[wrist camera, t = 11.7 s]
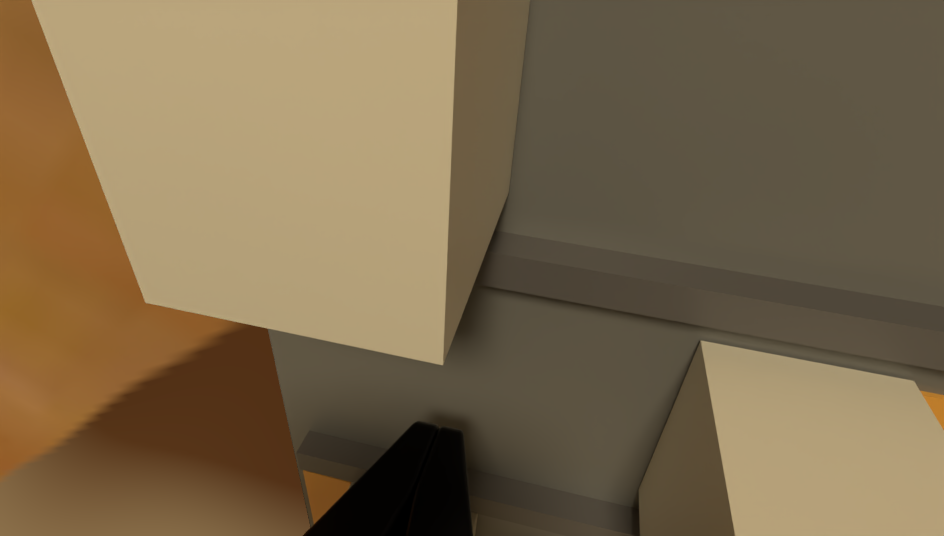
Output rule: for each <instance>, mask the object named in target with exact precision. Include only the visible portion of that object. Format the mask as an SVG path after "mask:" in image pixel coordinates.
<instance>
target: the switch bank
mask: <svg viewBox="0 0 944 536" xmlns="http://www.w3.org/2000/svg"><path fill="white" fill-rule="evenodd" d="M268 332H269V336H270V340H271V346H272V350H273V355H274V360H275V364H276V369H277V373H278V378H279V383H280V387H281V392H282V396H283V401H284V406H285V411H286V415H287V420H288V425H289V429H290V434H291V439H292V443H293V448H294V452H295V457H296V462H297V467H298V471H299V476H300V481H301V485H302V490H303V494H304V499H305V504H306V508H307V513H308V518H309V523H310V527H312V526H313V525H314V524H315V523H316V522H317V521H318V520H319V519H320V518H321V517H322V516H323V515H324V514H325V513H326V512H327V511H328V510H329V509H330V507H331V506H332V505H333V504H334V503H335V502H336V501H337V500H338V499H339V498H340V497H341V496H342V495H343V494H344V493H345V492H346V491H347V490H348V489H349V487H350V485H351V482H353V483H355V482H356V481H357V480H358V479H359V478H360V477H361V476H362V475H363V474H364V473H365V472H366V471H367V470H368V469H369V468H370V467H371V466H372V465H373V464H374V463H375V462H376V461H377V460H378V459H379V458H380V457H381V456H382V455H383V453H384V452H385V451H386V450H387V449H388V448H389V447H390V446H391V445H392V444H393V443H394V442H395V441H396V440H397V439H398V438H399V437H400V436H401V435H402V434H403V433H404V432H405V431H406V430H407V429H408V428H409V427H410V426H411V425H412V424H413V423H414V422H416V421H423V422H428V423H433V424H436V425H438V426H439V428H440V427H442V426H447V427H451V428H456V429H460V430H462V431H463V433H464V442H465V452H466V463H467V474H468V485H469V496H470V507H471V512H473V513H477V514H478V515H477V523H476V532H475V536H640V522H639V487H640V485H641V483H642V480H643V478H644V475H645V473H646V471H647V468H648V466H649V463H650V461H651V459H652V456H653V454H654V451H655V449H656V447H657V444H658V442H659V439H660V437H661V434H662V432H663V430H664V427H665V425H666V422H667V420H668V418H669V415H670V413H671V410H672V408H673V406H674V403H675V401H676V398H677V396H678V394H679V391H680V389H681V386H682V384H683V382H684V379H685V377H686V374H687V372H688V370H689V367H690V365H691V362H692V360H693V358H694V355H695V353H696V350H697V348H698V346H699V343H700V341H706V342H712V343H717V344H722V345H727V346H733V347H738V348H743V349H748V350H754V351H759V352H764V353H770V354H775V355H780V356H785V357H791V358H796V359H801V360H806V361H812V362H817V363H822V364H828V365H833V366H838V367H843V368H849V369H854V370H859V371H864V372H870V373H875V374H880V375H885V376H891V377H896V378H901V379H907V380H912V381H914V382H915V383H916V385H917V387H918V388H919V390H920V392H921V393H922V395H923V397H924V398H925V400H926V402H927V403H928V405H929V407H930V408H931V410H932V412H933V413H934V415H935V417H936V418H937V420H938V422H939V423H940V425H941V427H942V428H943V430H944V0H530V6H529V15H528V24H527V33H526V42H525V51H524V60H523V69H522V78H521V87H520V96H519V105H518V114H517V123H516V132H515V141H514V150H513V159H512V168H511V177H510V186H509V193H508V195H507V198H506V201H505V203H504V206H503V209H502V211H501V214H500V217H499V219H498V222H497V224H496V227H495V230H494V232H493V235H492V238H491V240H490V243H489V245H488V248H487V251H486V253H485V256H484V259H483V261H482V264H481V267H480V269H479V272H478V274H477V277H476V280H475V282H474V285H473V288H472V290H471V293H470V296H469V298H468V301H467V303H466V306H465V309H464V311H463V314H462V317H461V319H460V322H459V324H458V327H457V330H456V332H455V335H454V338H453V340H452V343H451V346H450V348H449V351H448V353H447V356H446V359H445V361H444V364H443V365H439V364H434V363H429V362H425V361H420V360H415V359H410V358H406V357H401V356H396V355H391V354H387V353H382V352H377V351H372V350H368V349H363V348H358V347H353V346H349V345H344V344H339V343H334V342H330V341H325V340H320V339H315V338H311V337H306V336H301V335H296V334H292V333H287V332H282V331H278V330H273V329H268Z"/></svg>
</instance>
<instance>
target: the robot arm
mask: <svg viewBox="0 0 944 536" xmlns="http://www.w3.org/2000/svg"><path fill="white" fill-rule="evenodd" d="M303 536H473V529H472V518H471V507H470V496H469V485H468V474H467V463H466V452H465V442H464V433H463V431H462V430H460V429H456V428H451V427H447V426H442V427H440V428H439V426H438V425H436V424H433V423H428V422H423V421H416V422H414V423H413V424H412V425H411V426H410V427H409V428H408V429H407V430H406V431H405V432H404V433H403V434H402V435H401V436H400V437H399V438H398V439H397V440H396V441H395V442H394V443H393V444H392V445H391V446H390V447H389V448H388V449H387V450H386V451H385V452H384V453H383V455H382V456H381V457H380V458H379V459H378V460H377V461H376V462H375V463H374V464H373V465H372V466H371V467H370V468H369V469H368V470H367V471H366V472H365V473H364V474H363V475H362V476H361V477H360V478H359V479H358V480H357V481H356V482H355V483H354V484H353V485H352V486H351V487H350V488H349V489H348V490H347V491H346V492H345V493H344V494H343V495H342V496H341V497H340V498H339V499H338V500H337V501H336V502H335V503H334V504H333V505H332V506H331V507H330V509H329V510H328V511H327V512H326V513H325V514H324V515H323V516H322V517H321V518H320V519H319V520H318V521H317V522H316V523H315V524H314V525H313V526H312V527H311V528H310V529H309V530H308V531H307V532H306V533H305V534H304V535H303Z"/></svg>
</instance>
